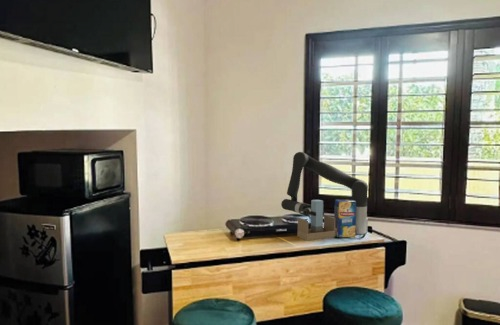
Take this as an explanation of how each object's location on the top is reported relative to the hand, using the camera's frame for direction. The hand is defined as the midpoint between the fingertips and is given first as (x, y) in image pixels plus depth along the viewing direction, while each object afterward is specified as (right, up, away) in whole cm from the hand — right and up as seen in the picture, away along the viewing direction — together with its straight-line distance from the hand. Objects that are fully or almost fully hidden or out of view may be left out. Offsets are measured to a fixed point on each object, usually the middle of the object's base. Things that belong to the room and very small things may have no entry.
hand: (319, 213), depth 222 cm
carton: (-2, -15, +3) cm, 15 cm away
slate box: (-1, -10, +3) cm, 11 cm away
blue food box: (+17, -15, +8) cm, 24 cm away
